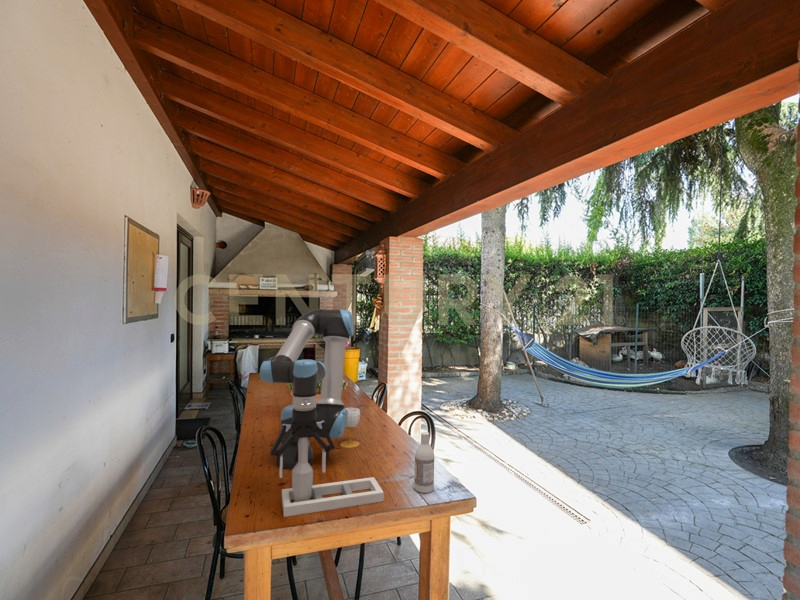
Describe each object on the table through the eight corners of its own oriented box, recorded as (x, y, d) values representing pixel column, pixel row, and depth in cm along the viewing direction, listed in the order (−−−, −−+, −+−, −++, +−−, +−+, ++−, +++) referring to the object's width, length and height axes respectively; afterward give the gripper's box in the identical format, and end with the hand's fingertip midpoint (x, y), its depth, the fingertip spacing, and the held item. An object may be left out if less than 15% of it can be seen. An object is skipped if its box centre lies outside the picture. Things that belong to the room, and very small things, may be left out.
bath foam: (413, 484, 143) (415, 429, 144) (432, 484, 143) (434, 430, 144) (414, 493, 137) (415, 435, 137) (434, 494, 136) (435, 436, 137)
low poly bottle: (315, 504, 128) (317, 436, 128) (299, 511, 123) (300, 441, 123) (304, 497, 132) (306, 432, 132) (287, 504, 127) (289, 436, 127)
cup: (346, 449, 176) (347, 413, 176) (336, 443, 183) (337, 409, 183) (363, 445, 182) (364, 410, 182) (352, 439, 189) (353, 406, 189)
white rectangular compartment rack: (283, 517, 120) (284, 507, 120) (281, 498, 131) (281, 489, 131) (383, 501, 131) (383, 492, 131) (373, 485, 142) (373, 477, 142)
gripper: (264, 413, 120) (262, 483, 120) (344, 408, 128) (342, 473, 128) (263, 407, 127) (261, 473, 127) (339, 402, 135) (338, 464, 135)
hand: (302, 473), depth 127 cm, fingers open, 13 cm apart
